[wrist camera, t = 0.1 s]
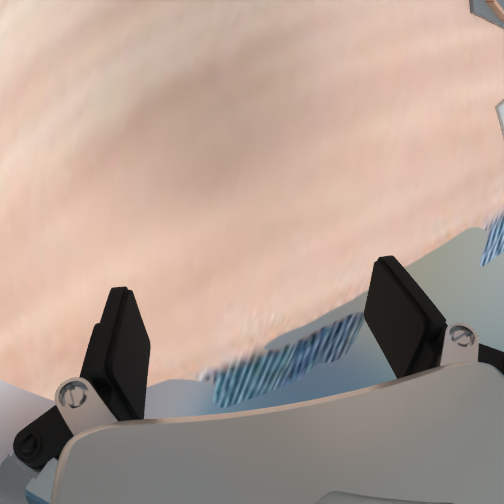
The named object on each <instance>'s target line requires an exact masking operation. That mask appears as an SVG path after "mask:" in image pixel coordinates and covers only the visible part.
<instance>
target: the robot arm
mask: <svg viewBox="0 0 504 504" xmlns="http://www.w3.org/2000/svg"><path fill="white" fill-rule="evenodd" d="M364 318H365V321H366V322H367V324H368V326H369V328H370V330H371V331H372V333H373V335H374V337H375V338H376V340H377V342H378V344H379V346H380V348H381V349H382V351H383V353H384V355H385V357H386V359H387V360H388V362H389V364H390V366H391V368H392V370H393V371H394V373H395V375H396V377H397V379H396V380H392V381H389V382H385V383H381V384H378V385H374V386H371V387H367V388H363V389H359V390H355V391H351V392H346V393H342V394H338V395H334V396H329V397H324V398H319V399H315V400H310V401H304V402H299V403H294V404H288V405H282V406H276V407H270V408H263V409H256V410H249V411H241V412H233V413H225V414H214V415H203V416H191V417H178V418H160V419H144V408H145V397H146V386H147V376H148V366H149V357H150V340H149V337H148V334H147V332H146V329H145V326H144V323H143V320H142V318H141V315H140V312H139V309H138V306H137V303H136V300H135V297H134V294H133V291H132V290H128V288H127V287H115V288H111V290H110V293H109V296H108V299H107V302H106V305H105V308H104V311H103V314H102V318H101V321H100V323H97V324H96V325H95V326H94V329H93V332H92V335H91V338H90V342H89V345H88V348H87V352H86V355H85V359H84V362H83V366H82V370H81V373H80V377H79V378H78V377H75V378H70V379H68V380H66V381H64V382H63V383H62V384H60V386H59V387H58V388H57V390H56V393H55V403H56V405H55V406H54V407H52V408H51V409H50V410H48V411H47V412H45V413H44V414H43V415H42V416H40V417H39V418H37V419H36V420H35V421H33V422H32V423H30V424H29V425H28V426H26V427H25V428H24V429H22V430H21V431H20V432H19V433H18V434H17V436H16V437H15V440H14V443H13V449H14V453H13V455H12V456H10V455H8V456H7V457H6V458H5V460H4V461H3V462H2V464H1V465H0V504H49V501H50V499H51V503H50V504H504V352H502V351H499V350H496V349H493V348H491V347H488V346H485V345H482V344H480V343H479V340H478V335H477V333H476V332H475V331H474V330H473V329H472V328H471V327H470V326H468V325H466V324H464V323H453V324H450V325H449V326H448V325H447V324H446V323H445V322H446V319H445V318H444V317H443V315H442V314H441V313H440V311H439V310H438V309H437V307H436V306H435V305H434V304H433V302H432V301H431V300H430V299H429V297H428V296H427V295H426V294H425V293H424V291H423V290H422V289H421V288H420V286H419V285H418V284H417V283H416V282H415V281H414V279H413V278H412V277H411V276H410V274H409V273H408V272H407V271H406V270H405V269H404V267H403V266H402V265H401V264H400V263H399V262H398V261H397V259H396V258H395V257H394V256H384V257H379V258H378V260H377V261H376V262H375V263H374V266H373V272H372V277H371V282H370V287H369V291H368V296H367V301H366V305H365V310H364Z"/></svg>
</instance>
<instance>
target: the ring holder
mask: <svg viewBox="0 0 504 504" xmlns="http://www.w3.org/2000/svg"><path fill="white" fill-rule="evenodd" d="M469 2H470V13H473V14H475V15H477V16H479V17H481V18H483V19H485V20H487V21H489V22H491V23H493V24H495V25H497V26H499V27H501V28H503V29H504V0H469Z"/></svg>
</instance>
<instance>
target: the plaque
mask: <svg viewBox="0 0 504 504" xmlns="http://www.w3.org/2000/svg"><path fill="white" fill-rule="evenodd" d="M495 109H496V112H497V116H498V119H499V123H500V126H501V130H502V134H503V138H504V99H503V100H502V101H501V102H500V103H499V104H497V105H496V106H495Z"/></svg>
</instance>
